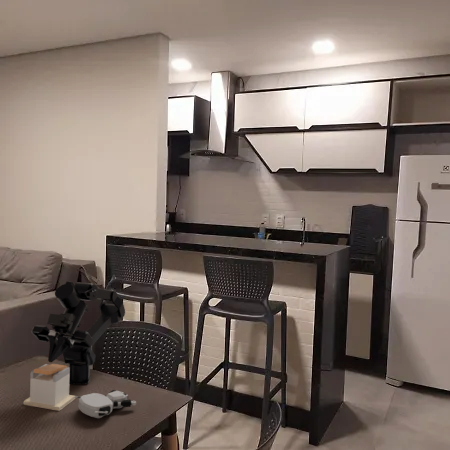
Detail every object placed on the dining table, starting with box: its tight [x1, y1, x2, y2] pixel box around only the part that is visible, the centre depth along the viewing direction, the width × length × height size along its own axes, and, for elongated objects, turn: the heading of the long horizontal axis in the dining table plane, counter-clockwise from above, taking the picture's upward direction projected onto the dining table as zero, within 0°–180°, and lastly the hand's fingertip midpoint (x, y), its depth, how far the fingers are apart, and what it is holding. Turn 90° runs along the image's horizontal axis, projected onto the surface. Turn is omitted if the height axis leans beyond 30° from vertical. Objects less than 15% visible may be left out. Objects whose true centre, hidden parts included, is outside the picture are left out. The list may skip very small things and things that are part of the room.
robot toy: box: [74, 389, 137, 419], centre depth 128 cm, size 12×4×15 cm
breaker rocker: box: [33, 363, 68, 375], centre depth 131 cm, size 9×5×2 cm, turn 167°
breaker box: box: [23, 363, 76, 412], centre depth 132 cm, size 8×12×10 cm, turn 76°
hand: (49, 361), depth 131 cm, fingers closed
